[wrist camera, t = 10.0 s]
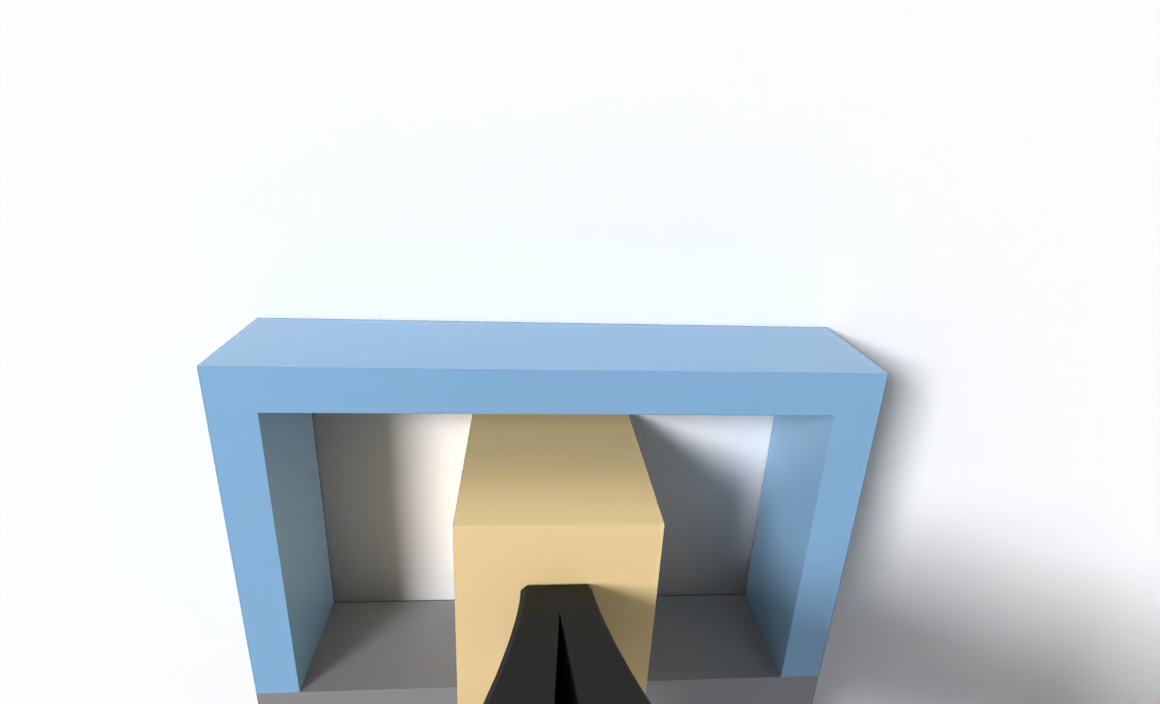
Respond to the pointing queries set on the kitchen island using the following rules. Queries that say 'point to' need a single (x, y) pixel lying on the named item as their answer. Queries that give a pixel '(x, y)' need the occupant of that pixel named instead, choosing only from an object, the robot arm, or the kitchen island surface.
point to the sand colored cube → (552, 533)
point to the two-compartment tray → (534, 386)
